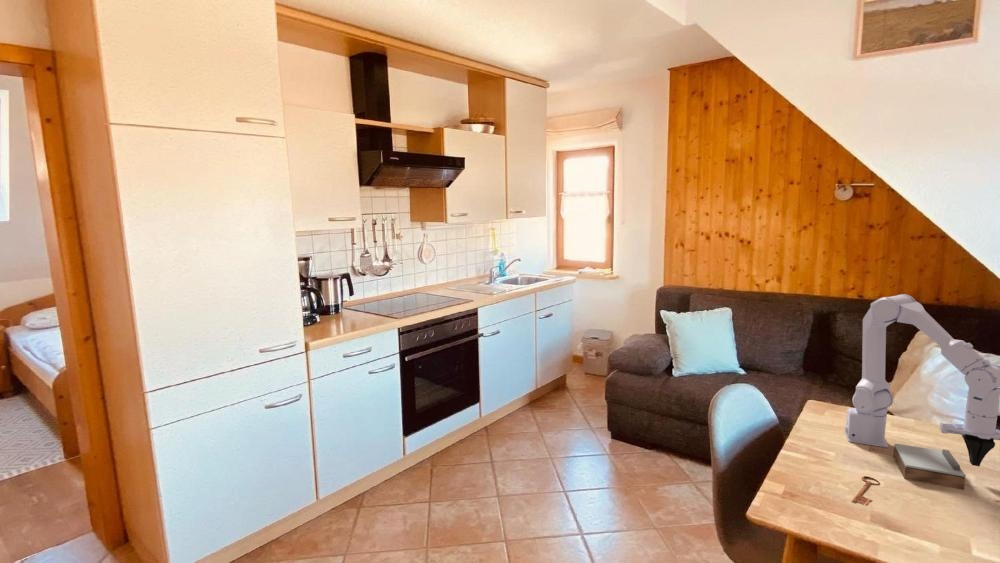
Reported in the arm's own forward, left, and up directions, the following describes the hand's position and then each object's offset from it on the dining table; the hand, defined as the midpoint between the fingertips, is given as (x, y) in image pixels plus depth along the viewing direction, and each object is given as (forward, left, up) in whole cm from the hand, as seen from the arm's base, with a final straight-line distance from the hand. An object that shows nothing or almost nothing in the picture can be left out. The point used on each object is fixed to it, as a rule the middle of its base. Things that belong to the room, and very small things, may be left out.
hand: (974, 464), depth 127 cm
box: (-9, 0, -4) cm, 10 cm away
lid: (-9, 0, -1) cm, 9 cm away
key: (-24, -17, -5) cm, 30 cm away
